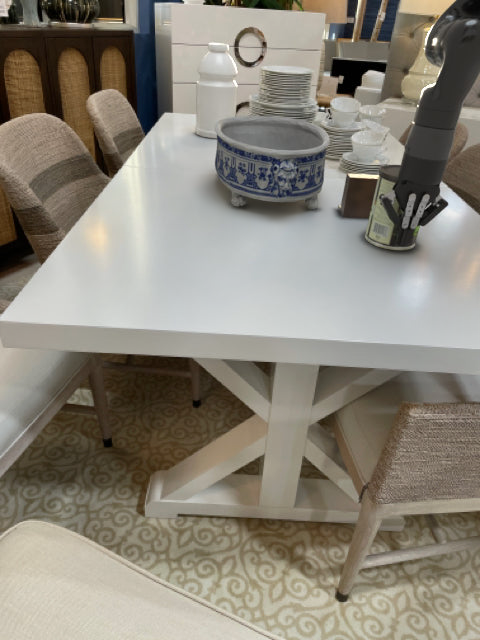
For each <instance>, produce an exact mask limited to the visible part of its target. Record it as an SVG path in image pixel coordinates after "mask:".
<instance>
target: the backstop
mask: <svg viewBox="0 0 480 640" xmlns="http://www.w3.org/2000/svg"><path fill="white" fill-rule="evenodd" d="M378 177H379V174H365V173H362V174H361V173H346V177H345V181H344V186H343V192H342V197H341V202H340V205H339V204H338V205H337V211H338V212H339V214H340V216H341V217H342V218H355V219H356V218H357V219H369V217H370V212H371V208H372V203H373V199H374V194H375V190H376V185H377V181H378Z"/></svg>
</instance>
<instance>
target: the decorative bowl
mask: <svg viewBox="0 0 480 640" xmlns="http://www.w3.org/2000/svg"><path fill="white" fill-rule="evenodd" d="M215 132H216V134H217V139H216V151H215V152H216V153H215V158H214V168H215V171H216V174H217V177H218V179H219V181H220V182H221V183H222V184H223V185H224V186H225V187H227V189H228V190H230V192H231V199H230V201H231V205H232V206H234V207H237V208H238V207H244V205H246V204H247V199H246V198H249V199H254V200H259V201H264V202H273V203H292V202H300V201H304V202H303V204H304V207H307V208H308V209H309V210H310V209H311V210H317V209H318V208H319V204H320V203H319V199H318V194H319V193H321V192H322V189H323V185H324V182H325V168H326V167H325V166H326V156H327V148H328V147H329V146H330V143H331V140H330V136H329V134H328V133H327V131H326V130H325V129H324V128H322V127H321V126H319V125H317V124H314V123H312V122H309V121H306V120H302V119H299V118H298V119H297V118H293V117H283V116H267V115H237V116H235V117H228V118H224V119H221V120H219V121H218V122H217V123H216V125H215Z"/></svg>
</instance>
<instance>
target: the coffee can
mask: <svg viewBox="0 0 480 640" xmlns="http://www.w3.org/2000/svg"><path fill="white" fill-rule="evenodd" d="M400 166H401V164H386V165H382V166H380V167H379V168H378V175H379V177H378V181H377V185H376V190H375V194H374V199H373V203H372V208H371V212H370V217H369V218H368V222H367V226H366V231H365V234H364V238H365V240H366V241H367V242H368V243H369V244H371V245H373V246H376V247H378V248H381V249H385V250H391V251H408V250H412V249H413V248H414V247H415V246H416V241H417V239H418V235H419V231H420V227H421V226H418V227H416V228H415V229H414V232H413V236H412V239H411V242H410V243H409V244H407V246H406V247H404V246H398V245H397V244H396V242H395V240H394V237H395V233H396V229H397V225H395V224H394V223H393V222H392V221H391V220H390V219H389V217H388V215H387V213H386V211H385V209H384V207H383V205H382V203H381V201H380V199H379V196H380V195H381V194H387V193H389V192H390V191H392V190H393V186H394V185H395V183H396V182H397V180H398V174H399V170H400ZM392 206H393V208H394V210H395V212H396V214H397V216H399V209H400V206H399V204H398V202H397V200H396V198H395V197H394V204H393V205H392ZM425 209H426V208H425ZM425 209H424V210H425Z"/></svg>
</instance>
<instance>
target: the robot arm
mask: <svg viewBox="0 0 480 640" xmlns="http://www.w3.org/2000/svg"><path fill="white" fill-rule="evenodd" d="M424 55H425V59H426V60H427V61H428V63H430V64H431V65H432V66H435V67H436V68H440V70H439V73H438V75H437V78H436V80H435V81H434V83H433V84H429V85H427V86H426V87H424V88H423V89H422V90H421V93H420V95H419V97H418V102H417V105H416V110H415V114H414V117H413V121H412V124H411V127H410V130H409V132H408V135H407V138H406V143H405V144H404V150H403V154H402V158H401V162H400V165H401V166H400V170H399V174H398V180H397V182H396V183H395V185H394V186H393V190H392V191H390V192H389V193H387V194H381V195H380V196H379V199H380V201H381V203H382V205H383V207H384V209H385V211H386V213H387V215H388V217H389V219H390V220H391V221H392V222H393V223H394V224H395V225H397V229H396V233H395V237H394V240H395V242H396V244H397V245H398V246H404V247H406V246H407V244H409V243H410V242H411V239H412V236H413V232H414V229H415V228H416V227H418V226H420V227H425V226H427V225H428V224H430V222H431V221H432V220H434V219H435V218H436V217H437V216H438V215H439V214H440V213H442V211H444V210H445V209H446V208H447V207H448V206H449V202H448V201H447V200H446V199H445V198H443V196H441V183H442V181H443V179H444V175H445V172H446V169H447V165H448V162H449V158H450V156H451V152H452V149H453V146H454V142H455V135H456V130H457V127H458V123H459V120H460V117H461V113H462V111H463V106H464V102H465V100H466V99H467V97H468V95H469V94H470V92H471V90H472V89H473V87H474V85H475V83H476V81H477V80H478V77H479V76H480V0H455V1H453V2H452V4H451V5H450V6H449V7H448V8H446V9H445V10H444V11H443V12H442V14H441V15H440V16H439V17H438V18H437V19H436V21H435V22H434V23H433V25H432V26H431V28H430V30H429V31H428V33H427V36H426V38H425V42H424ZM394 197H395V198H396V200H397V202H398V204H399V206H400V209H399V216H397V214H396V212H395V210H394V208H393V206H392V205H393V204H394ZM424 209H425V210H424Z"/></svg>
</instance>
